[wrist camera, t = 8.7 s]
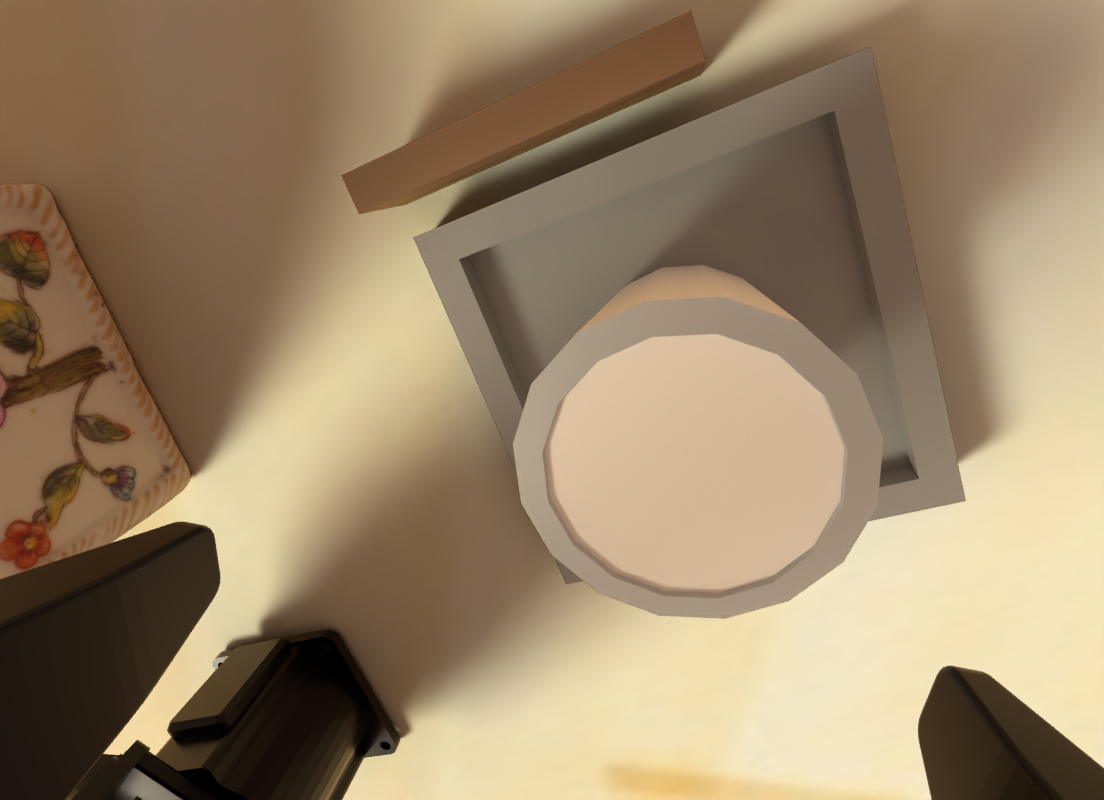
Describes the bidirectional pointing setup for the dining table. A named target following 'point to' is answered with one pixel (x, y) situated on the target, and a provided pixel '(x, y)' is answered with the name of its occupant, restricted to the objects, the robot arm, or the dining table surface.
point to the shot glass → (697, 449)
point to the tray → (722, 257)
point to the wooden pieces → (532, 116)
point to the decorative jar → (68, 401)
